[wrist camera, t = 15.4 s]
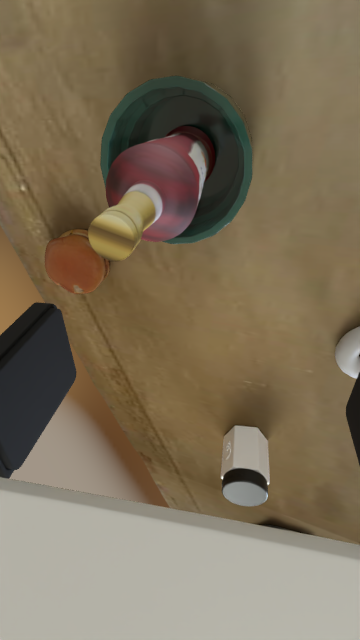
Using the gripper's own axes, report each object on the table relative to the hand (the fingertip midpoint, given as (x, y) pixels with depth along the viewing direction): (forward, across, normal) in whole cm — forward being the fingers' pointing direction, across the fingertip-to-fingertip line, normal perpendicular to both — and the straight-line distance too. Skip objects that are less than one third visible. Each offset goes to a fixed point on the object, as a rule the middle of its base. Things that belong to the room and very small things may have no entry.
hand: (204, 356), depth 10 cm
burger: (+38, +23, +15) cm, 47 cm away
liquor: (+37, +7, 0) cm, 38 cm away
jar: (+38, -5, +53) cm, 65 cm away
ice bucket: (+38, +7, 0) cm, 38 cm away
